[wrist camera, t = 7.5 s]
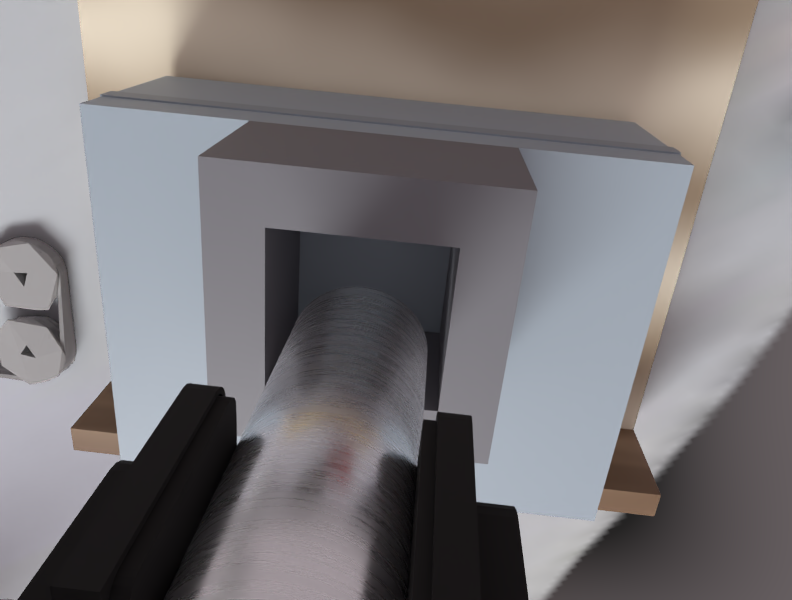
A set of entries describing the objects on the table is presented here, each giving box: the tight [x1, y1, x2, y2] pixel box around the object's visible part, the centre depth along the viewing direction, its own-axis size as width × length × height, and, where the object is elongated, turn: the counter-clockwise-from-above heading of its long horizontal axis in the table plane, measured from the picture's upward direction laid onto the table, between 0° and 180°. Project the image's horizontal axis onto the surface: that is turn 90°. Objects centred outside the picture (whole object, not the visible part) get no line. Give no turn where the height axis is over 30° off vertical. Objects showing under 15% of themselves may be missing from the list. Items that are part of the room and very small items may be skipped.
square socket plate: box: [80, 76, 694, 521], centre depth 21 cm, size 12×16×10 cm
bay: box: [71, 0, 759, 516], centre depth 23 cm, size 22×22×6 cm
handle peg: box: [164, 286, 428, 600], centre depth 10 cm, size 3×3×10 cm
